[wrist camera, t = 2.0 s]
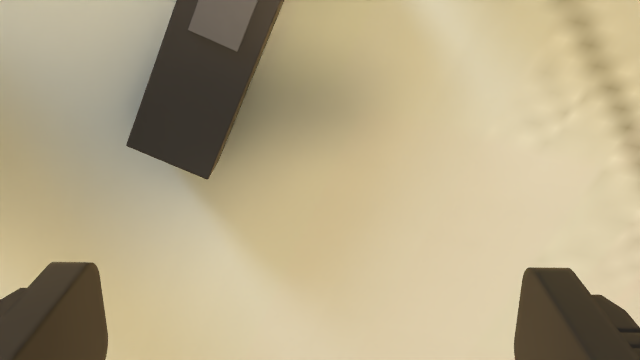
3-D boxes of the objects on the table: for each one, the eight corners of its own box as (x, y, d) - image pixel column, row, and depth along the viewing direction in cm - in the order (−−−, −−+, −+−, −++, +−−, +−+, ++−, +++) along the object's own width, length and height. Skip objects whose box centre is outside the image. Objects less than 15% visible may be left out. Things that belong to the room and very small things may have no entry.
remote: (143, 129, 35) (124, 147, 32) (245, -159, 30) (235, -173, 27) (218, 161, 36) (207, 181, 32) (331, -116, 30) (331, -125, 27)
